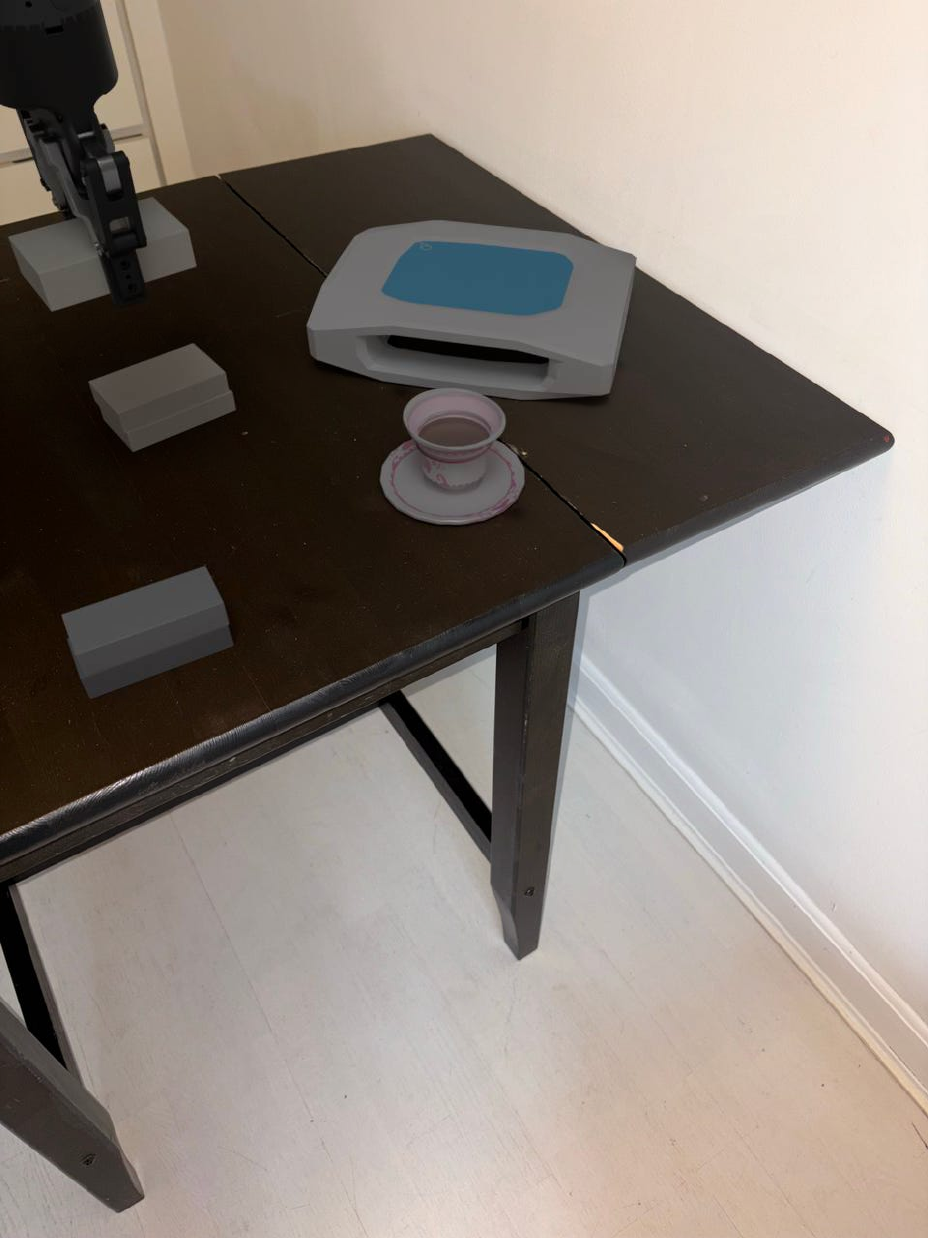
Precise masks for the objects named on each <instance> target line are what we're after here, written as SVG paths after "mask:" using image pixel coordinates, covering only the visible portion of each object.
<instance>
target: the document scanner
mask: <svg viewBox="0 0 928 1238" xmlns="http://www.w3.org/2000/svg"><path fill="white" fill-rule="evenodd" d="M637 259H638V258H637V257H636V256H635V255H634V254H633V253H631V252H627V251H624V250H621V249H617V248H615V247H611V246H608V245H605V244H601V243H598V242H596V241H593V240H589V239H586V238H583V237H580V236H577V235H575V234H572V233H568V232H558V231H549V230H541V229H530V228H522V227H513V226H504V225H493V224H482V223H473V222H463V221H453V220H445V219H431V220H423V221H415V222H407V223H400V224H399V223H398V224H390V225H383V226H382V225H381V226H375V227H370V228H368V229H365V230H363V231H362V232H360V233H358V234H356V235H354V236H353V238H352V239H351V241H350V242H349V244H348V245H347V247H346V248H345V250H344V251H343V253H342V254H341V256H340V257H339V259H338V260H337V262H336V263H335V265H334V266H333V268H332V269H331V271H330V273H329V274H328V275H327V277H326V278H325V280H324V281H323V283H322V285H321V286H320V289H319V292H318V294H317V297H316V299H315V302H314V305H313V307H312V310H311V313H310V316H309V318H308V320H307V324H306V332H307V339H308V345H309V346H308V347H309V353H310V356H312V357H313V358H314V359H315V360H317V361H320V362H323V363H325V364H329V365H332V366H335V367H338V368H341V369H344V370H347V371H349V372H350V371H351V372H352V373H357V374H359V375H362V376H365V377H369V378H371V379H374V380H377V381H381V382H386V383H393V384H400V385H408V386H414V387H421V388H422V387H423V388H429V389H430V388H431V389H439V388H459V389H465V390H470V391H473V392H476V393H479V394H482V395H484V396H492V397H497V398H506V399H513V400H520V401H528V400H529V401H532V400H534V401H535V400H549V399H551V400H552V399H565V398H566V399H567V398H569V399H570V398H585V397H598V396H599V397H600V396H601V397H602V396H605V395H608V394H610V392H611V390H612V386H613V383H614V379H615V374H616V370H617V366H618V361H619V356H620V352H621V347H622V344H623V343H622V342H623V339H624V334H625V329H626V323H627V318H628V314H629V308H630V303H631V299H632V293H633V287H634V280H635V273H636V265H637ZM391 336H399V337H407V338H416V339H424V340H431V341H432V340H433V341H439V342H449V343H455V344H464V345H472V346H480V347H488V348H495V349H497V348H498V349H504V350H513V351H518V352H522V353H527V354H530V355H536V356H538V357H543V358H547V359H548V362H544V363H529V362H514V361H513V362H512V361H499V360H497V361H496V360H485V359H484V360H483V359H477V358H468V357H461V356H453V355H445V354H438V353H432V352H427V351H426V352H424V351H419V350H414V349H413V350H412V349H407V348H400V347H395V346H393V345H391V344H389V343H388V341H389V339H390V337H391Z"/></svg>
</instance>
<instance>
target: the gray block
mask: <svg viewBox="0 0 928 1238" xmlns="http://www.w3.org/2000/svg"><path fill="white" fill-rule="evenodd" d="M61 618H62V622H63V624H64V627H65V630H66V633H67V636H68V637H67V638H66V641H67V644H68V647H69V649H70V652H71V656H72V658H73V661H74V664H75V668H76V671H77V673H78V676H79V679H80V681H81V683H82V686H83V689H84V690H85V692H86V694H87V696H88V698H89V700H92V699H96V698H98V697H101V696H104V695H105V694H109V693H112V692H115V691H117V690H119V689H122V688H125V687H128V686H130V685H133V684H136V683H138V682H141V681H144V680H146V679H149V678H152V677H154V676H157V675H160V674H163V673H165V672H168V671H171V670H173V669H176V668H179V667H181V666H184V665H187V664H189V663H193V662H195V661H198V660H199V659H203V658H205V657H208V656H211V655H213V654H217V653H220V652H223V651H224V650H227V649H230V648H233V647H234V646H235V645H234V641H233V637H232V633H231V630H230V626H229V625H230V620H229V616H228V613H227V609H226V605H225V601H224V600H223V597H222V596H221V594H220V592H219V590H218V587H217V586H216V583H215V582H214V580H213V578H212V576H211V574H210V572H209V570H208V567H206V565H204V566H200V567H198V568H194V569H192V570H189V571H186V572H183V573H180V574H177V575H175V576H171V577H169V578H168V577H167V578H165V579H162V580H159V581H157V582H154V583H150V584H147V585H144V586H142V587H138V588H135V589H134V590H133V589H132V590H130V591H128V592H124V593H121V594H118V595H115V596H113V597H109V598H106V599H104V600H101V601H98V602H95V603H91V604H89V605H85V606H82V607H80V608H77V609H74V610H70V611H69V612H66V613H65V612H64V613H62V614H61Z"/></svg>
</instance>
